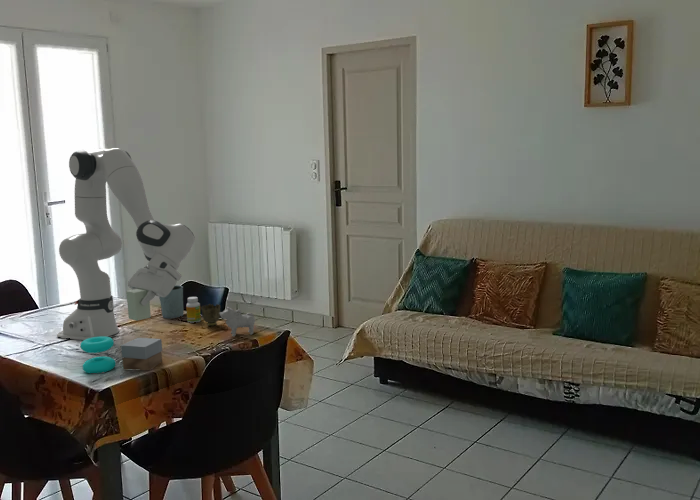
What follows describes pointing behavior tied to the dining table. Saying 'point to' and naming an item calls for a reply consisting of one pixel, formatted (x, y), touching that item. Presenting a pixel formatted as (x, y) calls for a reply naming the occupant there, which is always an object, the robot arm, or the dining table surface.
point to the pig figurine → (238, 320)
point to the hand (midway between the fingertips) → (136, 303)
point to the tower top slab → (141, 348)
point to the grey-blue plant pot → (173, 303)
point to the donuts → (98, 346)
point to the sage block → (137, 304)
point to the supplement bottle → (193, 310)
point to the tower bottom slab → (142, 362)
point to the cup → (211, 314)
